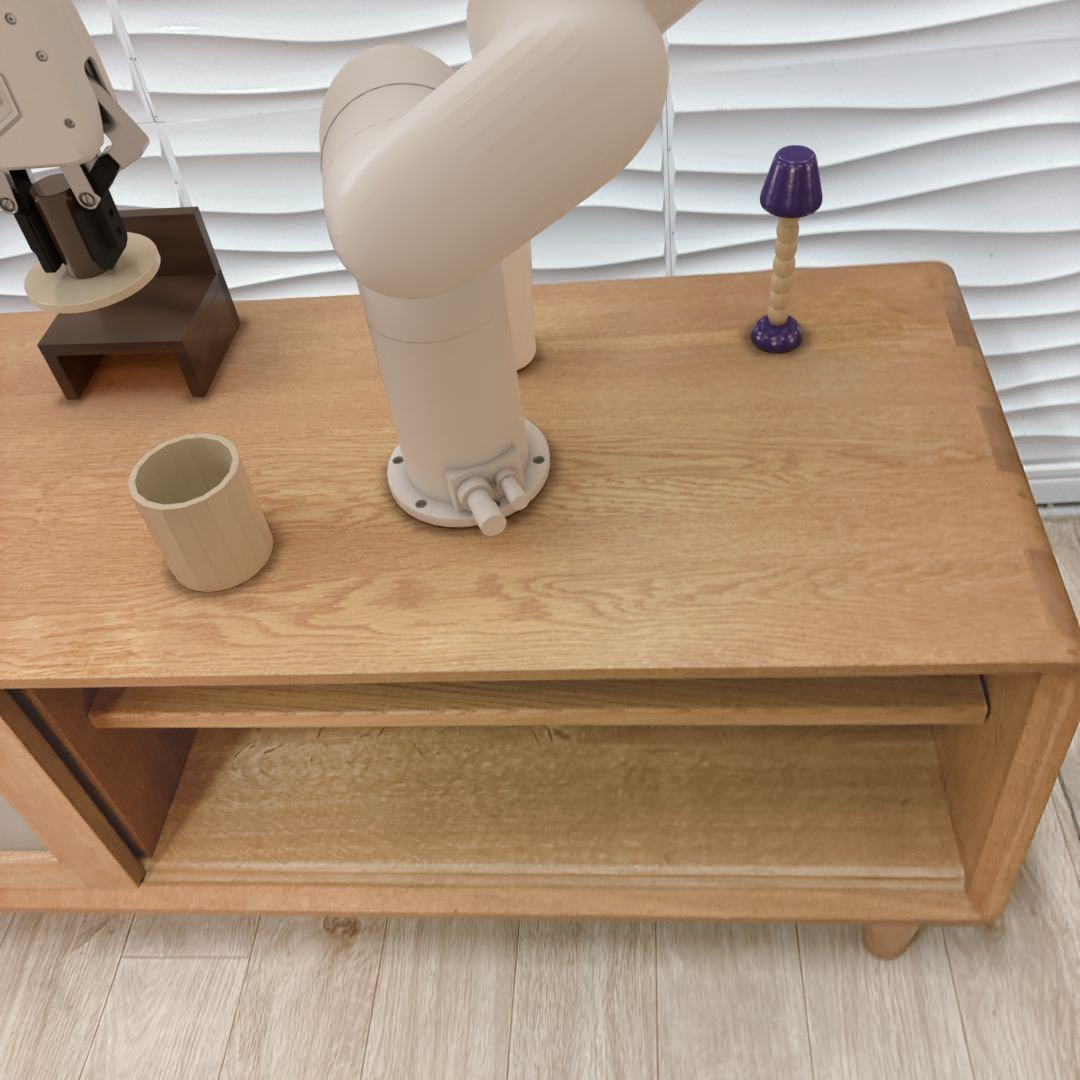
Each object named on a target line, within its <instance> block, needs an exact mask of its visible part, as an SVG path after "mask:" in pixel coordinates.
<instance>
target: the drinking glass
mask: <svg viewBox="0 0 1080 1080" xmlns="http://www.w3.org/2000/svg"><path fill="white" fill-rule="evenodd" d="M532 251H533V250H532V239H531V240H530V241H528V242H527V243H525V244H524V245H523V246H521V247H520V248H518V249H517V250H516V251H514V252H513V253H511V254H510V255H509V256H507V257H506V258H505V259H503V260H502V261H501V264H502V272H503V278H504V285H505V296H506V303H507V310H508V316H509V323H510V330H511V336H512V343H513V350H514V356H515V363H516V370H517V371H519V370H521V369H524V368H525V367H526V366H528V365H530V363H531V362H532V361H533V360H534V358H535V356H536V352H537V341H536V334H535V318H534V316H535V315H534V314H535V313H534V289H533V286H534V285H533V283H534V282H533V255H532V254H533V253H532Z"/></svg>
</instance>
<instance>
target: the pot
mask: <svg viewBox="0 0 1080 1080" xmlns="http://www.w3.org/2000/svg"><path fill="white" fill-rule="evenodd" d="M127 485H128V490H129V494H130V497H131V499H132V501H133V503H134V504H135V507H136V509H137V510H138V512H139V514H140V516H141V518H142V520H143V521H144V524H145V525H146V527H147V529H148V531H149V533H150V535H151V536H152V538H153V540H154V543H155V544H156V546H157V548H158V550H159V552H160V553H161V556H162V557H163V559H164V561H165V563H166V565H167V567H168V569H169V570H170V572H171V574H172V575H173V576H174V579H176V580H177V582H178V583H179V584H181V585H182V586H184V587H186V588H187V589H190V590H193V591H197V592H201V593H203V592H204V593H211V592H212V593H213V592H221V591H224V590H228V589H231V588H232V589H233V588H234V587H237V586H239V585H241V584H243V583H245V582H247V581H248V580H250V579H251V578H253V577H254V576H255V575H256V574H258V573H259V572H260V571H261V570H262V569H263V568H264V567H265V565H266V564H267V562H268V561H269V559H270V557H271V555H272V552H273V549H274V537H273V534H272V531H271V530H270V526H269V523H268V521H267V519H266V516H265V514H264V512H263V509H262V507H261V504H260V502H259V499H258V497H257V494H256V492H255V490H254V487H253V484H252V482H251V480H250V478H249V475H248V472H247V470H246V468H245V465H244V463H243V460H242V458H241V456H240V453H239V451H238V449H237V445H235V444H234V443H233V442H232V441H230V440H229V439H227V438H226V437H225V436H222V435H218V434H213V433H210V432H209V433H207V432H201V433H200V432H199V433H189V434H183V435H180V436H177V437H174V438H171V439H167V440H165V441H162V442H161V443H159V444H158V445H157V446H155V447H153V448H152V449H150V450H148V451H147V452H146V453H144V454H143V455H142V457H141V458H140V459H139V460H138V461H137V462H136V464H134V465H133V467H132V469H131V472H130V475H129V478H128V480H127Z"/></svg>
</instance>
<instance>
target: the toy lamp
mask: <svg viewBox="0 0 1080 1080" xmlns="http://www.w3.org/2000/svg"><path fill="white" fill-rule="evenodd" d="M760 191H761V192H760V195H759V203H760V204H759V205H760V206H761V208H762V209H763V210H764V211H765V212H767V213H768V214H769V215H772V216H774V217H777V218H778V222H777V225H776V228H775V229H776V230H775V231H776V240H775V243H774V253H775V256H774V258H773V261H772V270H773V273H772V275H771V279H770V286H771V289H770V292H769V297H768V301H769V303H770V304H769V306H768V308H767V314H765V315H763V316H762V317H760V318H759V319H758V320H757V321H756V323H755V324H754V325H753V327H752V330H751V332H750V339H751V342H752V343H753V344H754V345H755V346H756V347H757V348H759V349H760V350H761V351H764V352H768V353H769V352H770V353H786V352H791V351H792V350H794V349H796V348H797V347H799V346H800V345H801V343H802V341H803V332H802V328H801V326H800V324H799V322H798V320H796V319H795V318H794V317H792V316H791V315H789V314H790V308H789V305H790V302H791V299H792V292H791V289H792V287H793V284H794V274H793V273H794V271H795V269H796V258H795V256H796V254H797V251H798V240H797V238H798V237H799V233H800V224H799V221H800V219H801V218H805V217H808V216H810V215H813V214H815V213H816V212H817V211H818V210H819V209H820V208H821V206H822V204H823V190H822V182H821V175H820V168H819V164H818V157H817V155H816V153H815V151H814V150H813V149H812V148H811V147H807V146H805V145H799V144H790V145H786V146H783V147H781V148H779V149H778V150H777V151H776V153H775V154H774V156H773V159H772V161H771V164H770V167H769V168H768V172H767V174H766V177H765V180H764V183H763V185H762V188H761V190H760Z"/></svg>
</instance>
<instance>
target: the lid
mask: <svg viewBox="0 0 1080 1080" xmlns="http://www.w3.org/2000/svg"><path fill="white" fill-rule="evenodd" d="M29 194H30V196H31V198H32V200H33V202H34V204H35V206H36V208H37V210H38V212H39V214H40V216H41V218H42V221H43V223H44V225H45V227H46V229H47V231H48V233H49V235H50V237H51V239H52V241H53V243H54V245H55V247H56V249H57V252H58V254H59V256H60V258H61V260H62V262H63V264H62V266H61V267H60V269H59V270H57V272H55V273H46V272H44V270H43V268H42V266H41V264H40V262H39V260H37V262H35V263H34V264H33V265H32V267H31V268H30V269H29V270H28V271H27V273H26V275H25V278H24V282H23V287H24V288H23V289H24V292H25V294H26V296H27V298H28V300H29V301H30V302H31V304H32V305H34V306H35V307H36V308H38V309H40V310H42V311H44V312H48V313H53V314H58V313H80V312H87V311H92V310H96V309H100V308H103V307H106V306H109V305H112V304H115V303H117V302H119V301H121V300H123V299H125V298H127V297H129V296H131V295H133V294H134V293H136V292H138V291H139V290H140V289H142V288H143V287H144V286H145V285H146V284H148V283H149V282H150V281H151V280H152V278H153V277H154V276H155V274H156V273H157V271H158V269H159V266H160V254H159V252H158V249H157V247H156V245H155V244H154V243H153V242H152V241H151V240H150V239H149V238H147V237H145V236H143V235H140V234H136V233H131V232H127V236H128V240H127V246H126V248H125V250H124V251H123V253H122V254H121V256H120V258H119V259H118V261H117V263H116V264H115V266H114V267H113V269H112V270H102V269H101V268H99V267H98V266H97V263H96V261H95V259H94V257H93V255H92V252H91V250H90V248H89V246H88V244H87V241H86V239H85V237H84V235H83V233H82V231H81V228H80V226H79V224H78V222H77V220H76V217H75V211H76V210H77V208H78V207H79V205H80V204H79V202H78V201H77V199H76V197H75V195H74V193H73V191H72V189H71V188H70V186H69V184H68V182H67V180H66V178H65V176H64V175H63V173H62V172H59V173H53V174H50V175H47V176H44V177H41V178H39V179H38V180H35V183H34V184H33V185H32V186H31V187H30V189H29Z"/></svg>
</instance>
